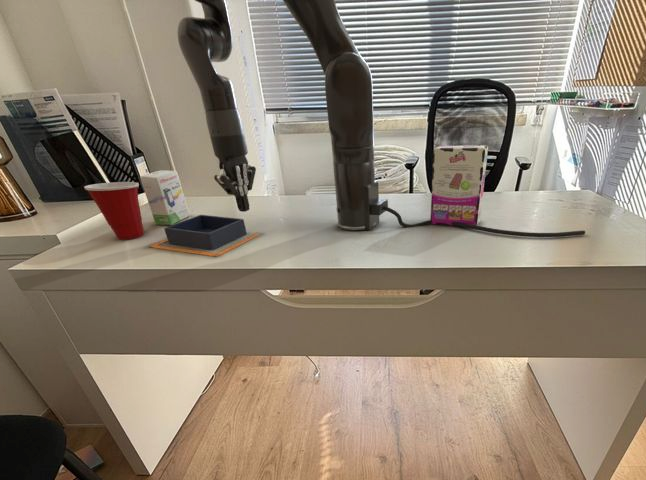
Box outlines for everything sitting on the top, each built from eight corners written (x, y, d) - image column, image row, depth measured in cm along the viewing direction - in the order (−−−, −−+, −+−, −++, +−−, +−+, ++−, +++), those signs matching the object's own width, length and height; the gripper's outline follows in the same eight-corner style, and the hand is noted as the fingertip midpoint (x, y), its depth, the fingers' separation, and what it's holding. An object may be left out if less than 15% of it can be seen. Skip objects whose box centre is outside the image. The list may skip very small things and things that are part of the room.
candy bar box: (480, 221, 92) (489, 144, 83) (476, 228, 88) (486, 148, 79) (434, 218, 96) (438, 144, 86) (429, 224, 92) (432, 147, 83)
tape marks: (260, 234, 91) (260, 234, 91) (216, 256, 80) (216, 256, 80) (197, 227, 97) (196, 227, 97) (148, 247, 86) (148, 246, 86)
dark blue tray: (246, 234, 91) (243, 219, 89) (213, 250, 83) (208, 233, 81) (204, 228, 96) (200, 214, 94) (168, 243, 88) (163, 228, 86)
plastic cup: (165, 231, 96) (148, 179, 89) (127, 245, 88) (104, 189, 81) (136, 227, 100) (117, 177, 93) (96, 240, 92) (72, 186, 85)
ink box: (174, 215, 107) (159, 169, 101) (191, 216, 106) (177, 169, 100) (154, 225, 101) (137, 176, 94) (172, 225, 100) (155, 176, 93)
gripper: (219, 136, 82) (239, 219, 91) (257, 129, 91) (272, 204, 101) (192, 136, 84) (215, 217, 94) (232, 129, 94) (249, 203, 104)
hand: (244, 210), depth 98 cm, fingers closed
